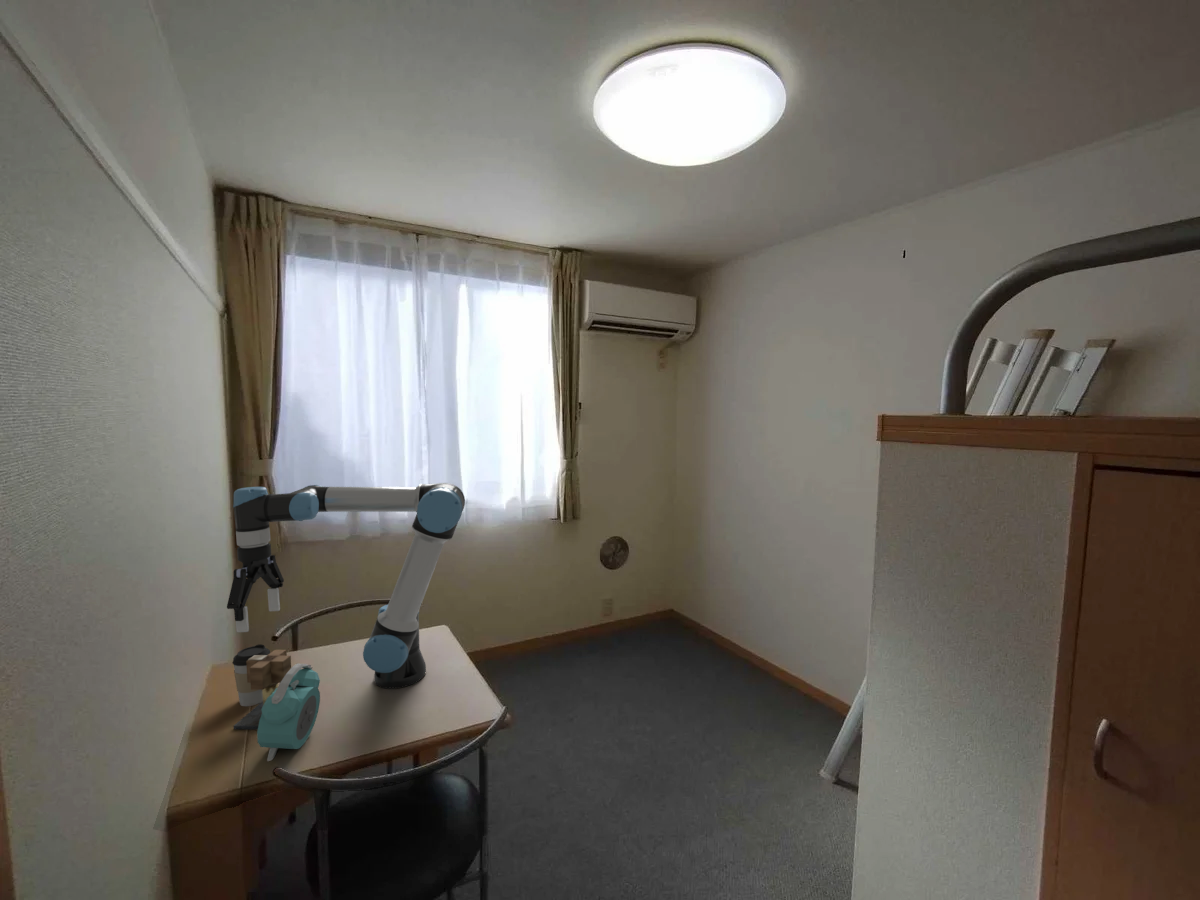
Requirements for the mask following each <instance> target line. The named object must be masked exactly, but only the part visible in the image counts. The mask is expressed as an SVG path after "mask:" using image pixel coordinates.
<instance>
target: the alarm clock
mask: <svg viewBox="0 0 1200 900" xmlns="http://www.w3.org/2000/svg"><path fill="white" fill-rule="evenodd" d="M320 682H321V679H320V676H319V673H318V671H315V670H313V667H312V664H307V663H296V664H294V665H293V666H291V669H290V670H289V671H288V672H287V673H286V675H285V676H284V678H283V679H282V681H281V682H280V683H278V688H276V689H275V691H274V692H273V693H272V695H270V696H269V697H268V698H267V699H266V701H265V703H264V705H263V707H262V709H261V711H262V715H261V718H260V721H259V726H258V730H257V731H256V734H257V735H256V737H257V738H256V739H257V743H258V745H259V747H260V748H269V750H268V755H267V758H266V762H269V761H273V759H275V757H276V754H277V752H278V749H289V750H298V749H300V748H301V747H303V746H304V745H305V744H306V742H307V740H308V739H309V737H310V735H311V733H312V731H313V729H314V727H315V723H316V720H317V717H318V715H319V714H318V713H319V708H320V704H321V703H320V702H321V692H320V690H319V687H320Z"/></svg>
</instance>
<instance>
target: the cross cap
mask: <svg viewBox="0 0 1200 900" xmlns="http://www.w3.org/2000/svg"><path fill="white" fill-rule="evenodd" d="M291 657H292V656H291V655H288V654H287V650H286V649H274V650H273V651H270V654H268V655H254V656H252V657H251V658H249V659H248V660H247V661H246V665H247V683H251V690H263V689H265V688H266V687H271V686H274V685H276V684H278V685H279V684H280V682H281V681H282V679H283V678H284V676H285V675H286V673H287V672H288V671H289V670H290V669H291V668H292V658H291Z"/></svg>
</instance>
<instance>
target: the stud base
mask: <svg viewBox="0 0 1200 900" xmlns="http://www.w3.org/2000/svg"><path fill="white" fill-rule="evenodd" d="M278 686H279V683H278V684H276V685H274V686H271V687H266V688H265V689H263V690H262V694H263V701H262V702H261V703H259V704H257V705H255V707H254V708H252V709H251V710H250V711H249V712H248V713H247V714H246V715H244V717H243V716H242V718H241V719H239V721H237V722H236V723H235V724H234V725H233V727H232V728H233V730H255V731H256V730H257V731H258V726H259V721H260V718H261V715H262V711H261V709H262V707H263V705H264V703H265V701H266V699H267V698H268V697H269V696H270V695H272V693H273V692H274V691H275V689H276V688H278Z"/></svg>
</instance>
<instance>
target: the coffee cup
mask: <svg viewBox="0 0 1200 900" xmlns="http://www.w3.org/2000/svg"><path fill="white" fill-rule="evenodd" d="M270 653H271V651H270V649H269V648H267V647H266V646H265V645H264V644H259V643H258V644H256V645H253V646H249V647H246V648H243V649H241V650H239V651H238V652H237V654H236V655H234V657H233V660H232V665H233V668H234V670H233V674H234V680H235V687H236V691H237V694H238V695H237V696H238V700H239V705H240V706H241V707H251V706H257V705H259V704H260V703H261V702H262V701H263V694H262V690H251V683H247V665H246V661H247V660H248V659H249V658H251V657H252V656H254V655H268V654H270Z"/></svg>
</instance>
